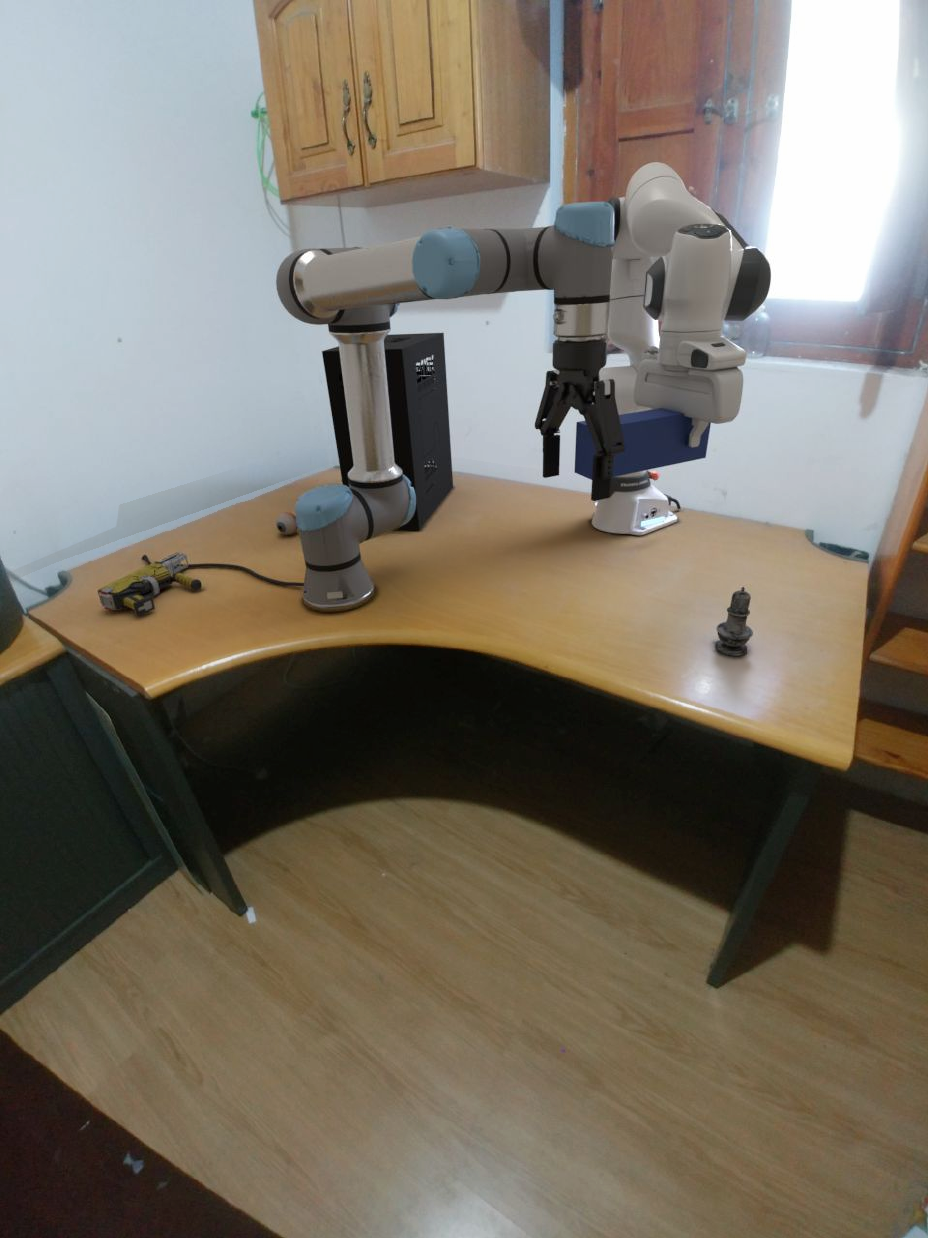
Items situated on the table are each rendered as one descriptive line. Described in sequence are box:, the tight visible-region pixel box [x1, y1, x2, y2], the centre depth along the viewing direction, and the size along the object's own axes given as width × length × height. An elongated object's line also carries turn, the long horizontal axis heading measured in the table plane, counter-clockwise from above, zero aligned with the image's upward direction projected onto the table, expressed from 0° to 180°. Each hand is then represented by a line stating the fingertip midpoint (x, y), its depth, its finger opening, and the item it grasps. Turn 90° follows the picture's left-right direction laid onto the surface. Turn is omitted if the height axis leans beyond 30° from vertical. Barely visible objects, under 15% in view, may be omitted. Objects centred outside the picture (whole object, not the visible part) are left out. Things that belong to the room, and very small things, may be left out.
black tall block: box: [321, 332, 454, 532], centre depth 169 cm, size 38×20×45 cm, turn 167°
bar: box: [574, 408, 712, 481], centre depth 96 cm, size 22×5×8 cm, turn 115°
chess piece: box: [714, 586, 754, 657], centre depth 103 cm, size 6×6×12 cm
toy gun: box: [97, 551, 203, 617], centre depth 137 cm, size 5×24×15 cm
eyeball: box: [275, 511, 298, 536], centre depth 163 cm, size 6×6×6 cm
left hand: (574, 487), depth 94 cm, fingers open, 13 cm apart
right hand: (677, 441), depth 99 cm, fingers closed on bar, 5 cm apart
